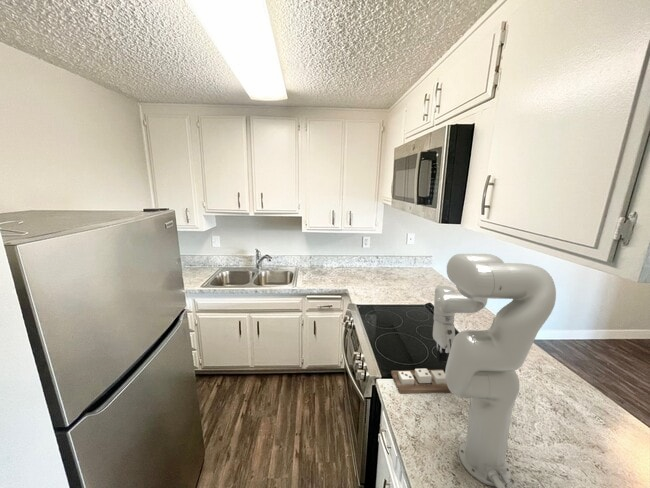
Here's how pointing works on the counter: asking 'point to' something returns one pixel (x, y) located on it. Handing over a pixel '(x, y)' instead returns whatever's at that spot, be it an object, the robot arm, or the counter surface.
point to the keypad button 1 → (438, 377)
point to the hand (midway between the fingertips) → (441, 360)
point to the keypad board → (419, 388)
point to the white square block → (405, 378)
